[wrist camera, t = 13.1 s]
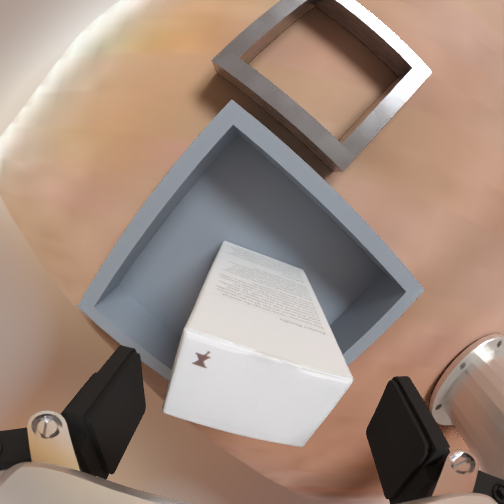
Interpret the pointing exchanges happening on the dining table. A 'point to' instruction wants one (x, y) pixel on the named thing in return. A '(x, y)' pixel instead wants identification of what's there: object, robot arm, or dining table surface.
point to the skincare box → (257, 353)
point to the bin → (244, 244)
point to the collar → (293, 115)
